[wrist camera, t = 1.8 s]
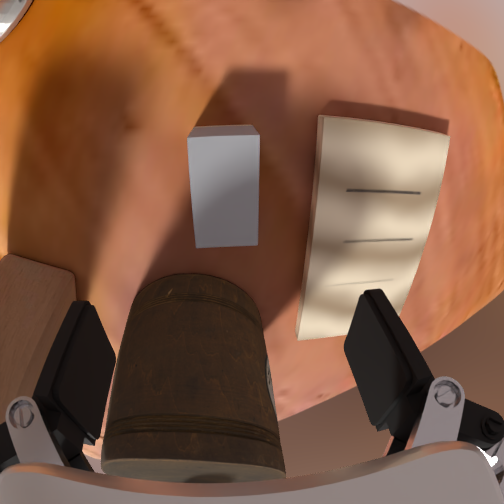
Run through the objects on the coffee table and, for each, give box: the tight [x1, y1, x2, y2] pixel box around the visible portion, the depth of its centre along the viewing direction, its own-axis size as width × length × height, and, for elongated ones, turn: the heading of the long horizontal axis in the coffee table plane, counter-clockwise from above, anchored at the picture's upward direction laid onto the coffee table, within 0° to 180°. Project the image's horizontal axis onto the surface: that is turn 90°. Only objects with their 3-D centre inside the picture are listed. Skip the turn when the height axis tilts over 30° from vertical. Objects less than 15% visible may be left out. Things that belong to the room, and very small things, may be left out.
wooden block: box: [0, 254, 76, 424], centre depth 20 cm, size 10×10×20 cm
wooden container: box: [101, 274, 286, 483], centre depth 23 cm, size 15×15×22 cm
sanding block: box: [187, 125, 260, 248], centre depth 22 cm, size 8×4×5 cm, turn 0°
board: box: [295, 115, 450, 341], centre depth 28 cm, size 24×13×2 cm, turn 0°
